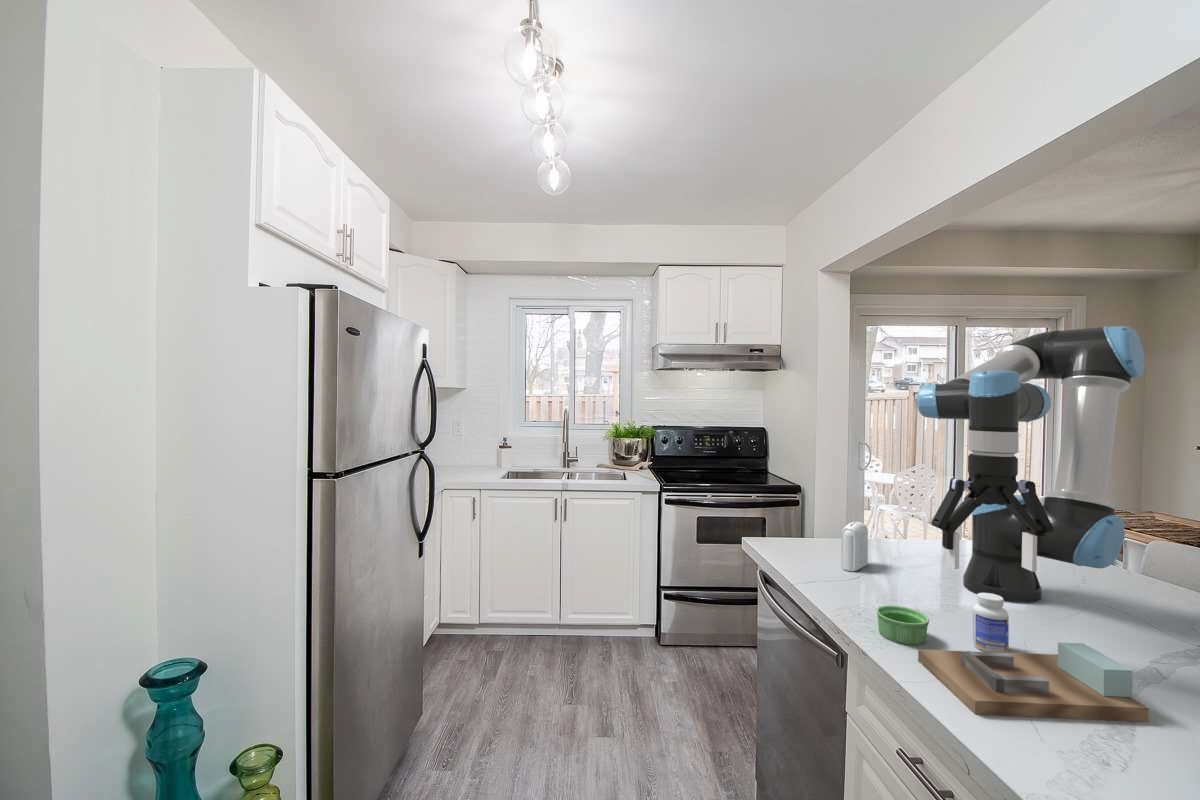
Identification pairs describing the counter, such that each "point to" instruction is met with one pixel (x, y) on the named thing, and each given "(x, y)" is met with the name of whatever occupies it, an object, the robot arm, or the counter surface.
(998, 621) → the pill bottle
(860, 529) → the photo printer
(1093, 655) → the pale blue rectangular block
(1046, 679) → the cradle
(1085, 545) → the robot arm
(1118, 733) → the counter surface
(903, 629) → the ramekin
